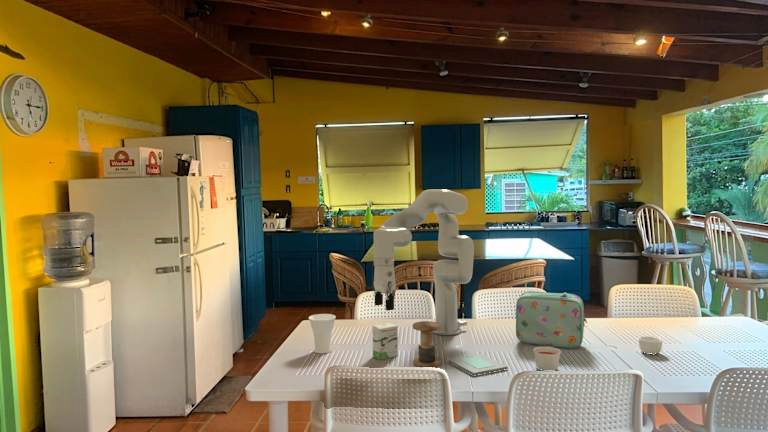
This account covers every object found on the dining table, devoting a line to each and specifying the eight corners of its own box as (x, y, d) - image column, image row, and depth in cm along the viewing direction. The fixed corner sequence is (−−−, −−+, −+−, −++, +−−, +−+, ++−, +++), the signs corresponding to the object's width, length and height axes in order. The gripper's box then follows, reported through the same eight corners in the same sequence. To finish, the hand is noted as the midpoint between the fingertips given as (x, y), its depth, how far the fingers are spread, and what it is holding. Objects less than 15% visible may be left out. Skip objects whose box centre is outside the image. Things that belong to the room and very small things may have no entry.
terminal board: (480, 356, 198) (480, 353, 198) (507, 369, 183) (507, 366, 183) (448, 362, 192) (448, 358, 192) (473, 376, 177) (473, 372, 177)
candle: (555, 363, 189) (555, 346, 188) (564, 372, 180) (564, 354, 179) (530, 364, 188) (530, 346, 188) (538, 373, 179) (538, 354, 179)
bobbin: (432, 357, 198) (431, 319, 197) (446, 365, 189) (446, 326, 188) (408, 361, 194) (407, 323, 193) (421, 369, 185) (421, 329, 184)
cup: (314, 357, 200) (314, 321, 199) (305, 349, 209) (304, 315, 209) (340, 352, 205) (339, 318, 204) (330, 345, 214) (329, 312, 214)
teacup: (665, 357, 194) (665, 342, 194) (642, 356, 196) (642, 341, 195) (655, 348, 204) (655, 334, 204) (634, 348, 205) (634, 334, 205)
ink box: (379, 360, 195) (378, 328, 195) (372, 356, 200) (371, 325, 199) (398, 355, 200) (398, 324, 200) (391, 352, 204) (390, 322, 204)
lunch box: (587, 344, 211) (587, 291, 210) (585, 351, 202) (585, 296, 201) (519, 337, 222) (519, 286, 221) (514, 344, 213) (514, 291, 212)
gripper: (403, 264, 192) (403, 311, 192) (383, 258, 207) (383, 302, 208) (384, 265, 188) (384, 313, 189) (365, 259, 204) (365, 304, 205)
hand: (384, 307), depth 199 cm, fingers open, 9 cm apart
